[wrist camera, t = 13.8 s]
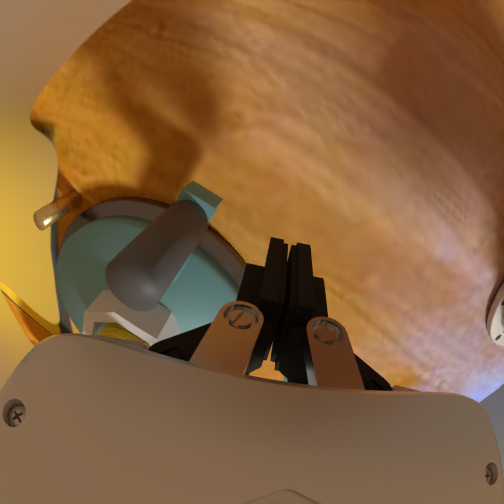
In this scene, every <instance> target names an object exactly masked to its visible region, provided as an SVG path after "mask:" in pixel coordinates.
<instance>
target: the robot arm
mask: <svg viewBox="0 0 504 504" xmlns="http://www.w3.org/2000/svg"><path fill="white" fill-rule="evenodd" d="M287 255H288V244H286V243H284V240H283V239H278V238H273V237H271V239H270V244H269V249H268V253H267V258H266V263H265V267H263V266H259V265H254V264H249V263H247V264H246V268H245V271H244V275H243V278H242V281H241V285H240V288H239V292H238V295H237V299H236V301H233V302H229V303H227V304H225V305H223V306H222V308H221V309H220V310H219V312H218V313H217V315H216V317H215V318H214V320H213V322H211V323H208V324H206V325H203V326H200V327H197V328H195V329H192V330H189V331H186V332H184V333H181V334H178V335H175V336H172V337H170V338H167V339H164V340H161V341H158V342H156V343H154V344H153V345H152V346H149V345H145V342H142V341H133V340H125V339H118V338H111V337H105V336H98V335H87V334H75V333H64V334H55V335H52V336H49V337H47V338H45V339H43V340H42V341H40V342H39V343H38V344H37V345H36V346H34V347H33V348H32V350H31V351H30V352H29V353H28V354H27V355H26V356H25V357H24V358H23V360H22V361H21V362H20V363H19V365H18V366H17V367H16V369H15V370H14V371H13V373H12V374H11V376H10V377H9V379H8V380H7V382H6V383H5V384H4V386H3V388H2V389H1V391H0V504H504V479H503V471H502V464H501V458H500V453H499V449H498V445H497V440H496V437H495V433H494V430H493V426H492V424H491V421H490V418H489V416H488V414H487V412H486V410H485V408H484V407H483V406H482V405H481V404H480V403H478V402H477V401H475V400H473V399H471V398H468V397H466V396H463V395H459V394H454V393H446V392H422V391H418V390H413V389H409V388H405V387H401V386H397V385H395V386H394V387H393V388H392V387H391V386H390V384H389V383H388V382H387V381H386V380H385V379H384V378H383V377H382V376H380V375H379V374H378V373H377V372H376V371H374V370H373V369H372V368H371V367H370V366H369V365H367V364H366V363H365V362H364V361H363V360H361V359H360V358H359V357H358V356H357V355H356V354H354V352H353V349H352V346H351V343H350V340H349V337H348V334H347V332H346V330H345V328H344V327H343V326H342V325H341V324H340V323H339V322H338V321H336V320H334V319H332V318H329V317H328V311H327V302H326V294H325V286H324V280H323V278H319V277H314V276H313V269H312V258H311V247H310V245H307V244H302V243H297V245H296V246H295V245H292V246H291V249H290V253H289V257H288V261H287ZM487 331H488V334H489V336H490V338H491V340H492V341H493V342H494V343H495V344H497V345H504V282H503V284H502V286H501V287H500V289H499V291H498V293H497V295H496V297H495V299H494V301H493V303H492V306H491V308H490V311H489V315H488V319H487ZM272 342H273V344H272ZM271 345H272V352H271V361H273V362H275V370H277V371H280V372H281V373H282V374H283V375H284V376H285V377H284V381H278V380H271V379H266V378H260V377H254V376H249V374H250V372H252V371H254V370H256V369H258V368H260V367H261V365H262V362H263V360H267V357H268V354H269V351H270V348H271Z"/></svg>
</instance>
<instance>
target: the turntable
mask: <svg viewBox="0 0 504 504" xmlns="http://www.w3.org/2000/svg"><path fill="white" fill-rule="evenodd" d="M222 200H223V199H222V198H220V197H219V196H217V195H215V194H214V193H212V192H211V191H209V190H207V189H206V188H204V187H202V186H201V185H199V184H197V183H196V182H194V181H192V182H191V183H190V184H188V185H187V186H186V187H184V188H183V189H182V191H181V193H180V195H179V197H178V200H177V202H175V203H173V204H172V205H171V206H170V207H169V208H168V209H166V210H165V211H164V212H163V213H162V214H161V215H160V216H158V217H157V218H156V219H155V220H154V221H151V220H147V219H143V218H139V217H133V216H125V215H115V216H106V217H102V218H98V219H96V220H93V221H91V222H89V223H87V224H86V225H85V226H83V227H82V228H80V229H79V230H78V231H76V232H75V233H74V234H72V235H71V236H70V237H69V238H68V239H67V240H66V241H65V243H64V244H63V246H62V248H61V250H60V253H59V256H58V259H57V267H56V276H57V284H58V289H59V293H60V296H61V299H62V301H63V304H64V306H65V309H66V311H67V313H68V314H69V316H70V318H71V320H72V321H73V323H74V324H75V326H76V327H77V329H78V330H79V331H80V333H81V334H87V335H99V334H100V332H101V331H102V329H103V328H104V327H105V325H106V324H107V323H118V324H120V325H121V326H123V327H124V328H126V329H127V330H129V331H130V332H132V333H133V334H135V335H137V336H138V337H140V338H142V339H143V340H145V341H146V342H148V343H149V344H150V346H152V345H153V344H154V343H156V342H158V341H161V340H164V339H167V338H170V337H172V336H175V335H178V334H181V333H184V332H186V331H189V330H192V329H195V328H197V327H200V326H203V325H206V324H208V323H211V322H213V320H214V318H215V317H216V315H217V313H218V312H219V310H220V309H221V308H222V306H223V305H225V304H227V303H229V302H233V301H236V299H237V295H238V292H239V287H238V285H237V284H236V283H235V281H234V280H233V279H232V277H231V276H230V275H229V273H228V272H227V271H226V270H225V269H224V268H223V267H222V266H221V265H220V264H219V263H218V262H217V261H216V260H215V259H214V258H213V257H212V256H211V255H210V254H208V253H207V252H206V251H205V250H204V249H203V248H201V247H200V246H199V245H198V243H199V242H200V240H201V239H202V237H203V236H204V234H205V233H206V231H207V229H208V224H209V222H210V220H211V218H212V217H213V215H214V213H215V212H216V210H217V208H218V206H219V205H220V203H221V201H222Z"/></svg>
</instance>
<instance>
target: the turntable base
mask: <svg viewBox="0 0 504 504" xmlns="http://www.w3.org/2000/svg"><path fill="white" fill-rule="evenodd" d="M80 205H81V197H80V195H79V193H78V192H77V191H74V190H73V191H71V192H69V193H67V194H65V195H63V196H62V197H60V198H58V199H56V200H54V201H53V202H51V203H49V204H47V205H46V206H44V207H42V208H41V209H39V210H37V211H36V212H35V213H34V222H35V224H36V226H37V227H38V228H39V229H40V230H44V229H46V228H47V227H49V226H50V225H52V224H53V223H55V222H56V221H58V220H59V219H61V218H62V217H64V216H65V215H67V214H68V213H70V212H71V211H73V210H75V209H76V208H78V207H79V206H80ZM169 207H170V205H168V204H165V203H162V202H158V201H154V200H150V199H146V198H135V197H122V198H113V199H109V200H106V201H102V202H100V203H98V204H96V205H94V206H92V207H90V208H89V209H87V210H86V211H84V212H83V213H82V214H80V215H79V216H78V217H76V219H75V220H74V221H73V222H72V223H71V224H70V226H69V228H68V229H67V231H66V233H65V235H64V238H63V241H62V245H61V248H62V246H63V244H64V243H65V241H66V240H67V239H68V238H69V237H70V236H71V235H72V234H74V233H75V232H76V231H78V230H79V229H80V228H82V227H83V226H85V225H86V224H87V223H89V222H91V221H93V220H96V219H98V218H102V217H106V216H115V215H125V216H133V217H139V218H143V219H147V220H151V221H154V220H155V219H156V218H157V217H158V216H160V215H161V214H162V213H163V212H164V211H165V210H166V209H168V208H169ZM198 245H199V246H200V247H201V248H203V249H204V250H205V251H206V252H207V253H208V254H210V255H211V256H212V257H213V258H214V259H215V260H216V261H217V262H218V263H219V264H220V265H221V266H222V267H223V268H224V269H225V270H226V271H227V272H228V273H229V275H230V276H231V277H232V279H233V280H234V281H235V283H236V284H237V285H238V287H239V288H240V285H241V281H242V278H243V275H244V271H245V268H246V262H245V261H244V260H243V258H242V257H241V256H240V255H239V254H238V253H237V251H236V250H235V249H234V248H233V247H232V246H231V245H230V244H229V243H228V242H227V241H226V240H225V239H224V238H222V237H221V236H220V235H219V234H218V233H217V232H216V231H214V230H213V229H212V228H210V227H209V226H208V229H207V231H206V233H205V234H204V236H203V237H202V239H201V240H200V242H199V243H198Z"/></svg>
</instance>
